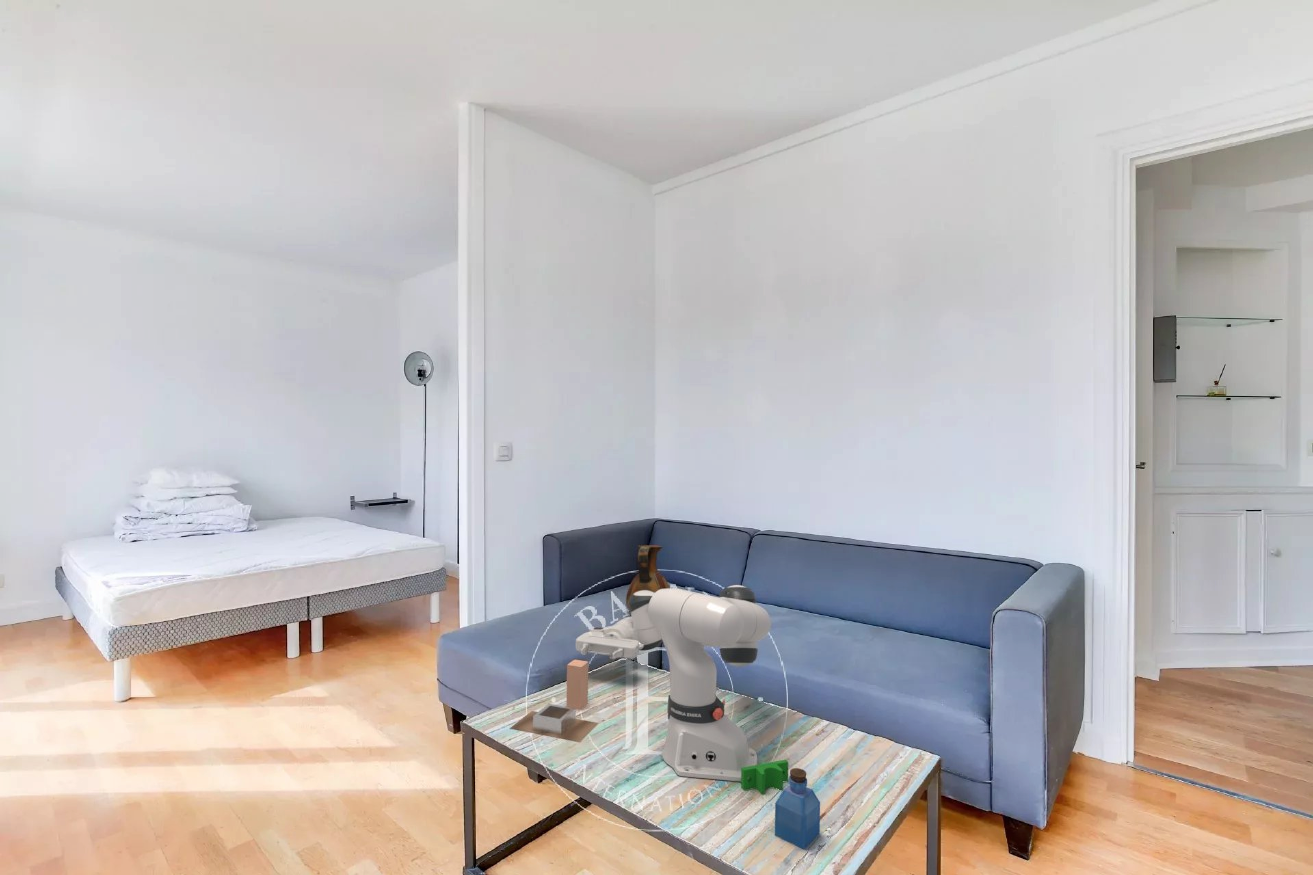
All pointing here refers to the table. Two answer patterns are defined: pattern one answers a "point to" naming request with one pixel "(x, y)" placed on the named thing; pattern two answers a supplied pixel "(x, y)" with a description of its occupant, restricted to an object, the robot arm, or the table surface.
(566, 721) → the square metal frame
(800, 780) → the perfume bottle
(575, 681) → the tall rectangular block
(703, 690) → the robot arm
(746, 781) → the pipe clamp
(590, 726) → the holder base
